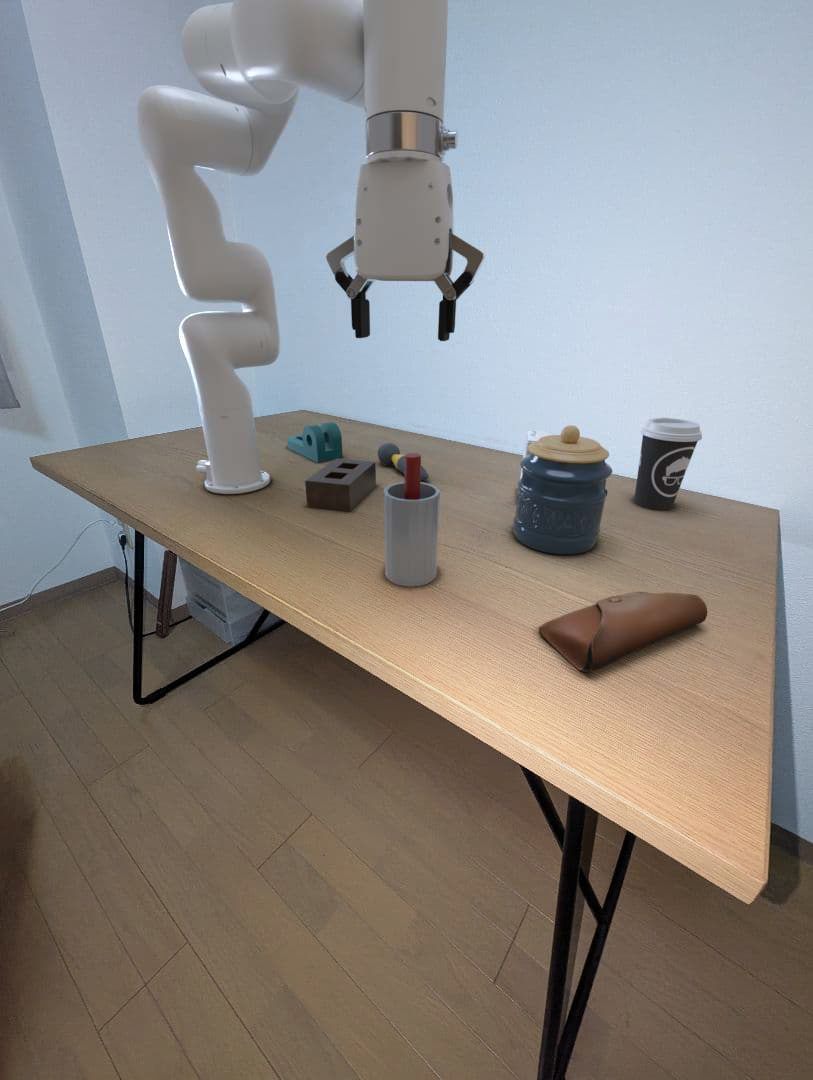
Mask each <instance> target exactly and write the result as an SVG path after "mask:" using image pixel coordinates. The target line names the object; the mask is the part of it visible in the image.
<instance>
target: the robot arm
mask: <svg viewBox="0 0 813 1080" xmlns="http://www.w3.org/2000/svg"><path fill="white" fill-rule="evenodd" d="M448 10H449V0H233V1H231V2H225V3H224V2H223V3H217V4H210V5H205V6H202V7H200V8H198V9H196V10H194V12H192V13H191V14H190V16H189V17H188V18H187V20H186V22H185V23H184V26H183V29H182V34H181V46H182V53H183V57H184V61H185V64H186V66H187V68H188V71H189V72H190V73H191V75H192V76H193V78H194V80H195V81H196V82H197V83H198V85H199V86H201V88H202V89H203V90H205V91H206V93H207V92H208V94H210V95H211V96H209V95H207V94H204V93H201V92H197V91H193V90H190V89H187V88H182V87H179V86H174V85H167V84H155V85H151V86H148V87H147V88H145V89H144V90H142V92H141V94H140V96H139V98H138V100H137V105H136V106H137V107H136V126H137V134H138V138H139V144H140V149H141V151H142V154H143V158H144V161H145V164H146V166H147V169H148V172H149V174H150V177H151V178H152V181H153V183H154V186H155V187H156V190H157V193H158V194H159V195H158V196H159V198H160V201H161V204H162V208H163V212H164V217H165V223H166V227H167V233H168V238H169V243H170V249H171V253H172V258H173V264H174V269H175V272H176V276H177V280H178V284H179V286H180V289H181V291H182V292H183V294H184V296H185V297H187V298H188V299H189V300H191V301H195V302H198V303H206V304H240V307H241V309H242V311H201V312H200V311H199V312H195V313H192V314H189V315H188V316H186V317H185V318H184V319H183V320H182V321H181V322H180V325H179V329H178V330H179V331H178V336H179V341H180V345H181V349H182V351H183V354H184V356H185V359H186V362H187V365H188V368H189V371H190V374H191V377H192V381H193V386H194V391H195V396H196V400H197V405H198V410H199V416H200V421H201V426H202V432H203V437H204V442H205V447H206V451H207V452H206V454H207V457H208V460H205V459H204V460H203V459H200V460H198V462H197V465H196V466H195V471H196V473H199V474H200V473H202V474H203V473H204V474H206V479H205V480H204V487H205V489H206V490H207V491H209V492H211V493H214V494H220V495H236V494H237V495H238V494H239V495H240V494H246V493H250V492H255V491H258V490H261V489H263V488H265V487H267V486H268V485H270V482H271V475H270V474H269V473H268V472H266V471H264V470H262V468H261V460H260V453H259V446H258V445H259V444H258V438H257V431H256V425H255V423H256V422H255V417H254V410H253V403H252V396H251V393H250V390H249V388H248V387H247V385H246V383H244V382H243V380H242V379H241V377H240V376H239V375H238V374H237V372H236V371H235V370H239V369H244V368H256V367H257V368H258V367H266V366H269V365H272V364H273V363H275V362H276V361H277V360H278V358H279V355H280V352H281V335H280V325H279V324H280V323H279V317H278V309H277V299H276V291H275V284H274V276H273V272H272V269H271V266H270V263H269V261H268V259H267V257H266V256H265V254H264V253H263V252H262V250H261V249H259V247H257V246H256V245H253V244H250V243H247V242H239V241H229V240H227V238H226V236H225V231H224V227H223V219H222V214H221V208H220V206H219V203H218V201H217V199H216V197H215V196H214V194H213V192H212V191H211V189H210V188H209V186H208V185H207V183H206V182H205V181H204V179H203V178H202V177H201V176H200V174H199V173H198V172H197V171H196V170H195V167H198V168H202V169H207V170H211V171H216V172H221V173H227V174H231V175H235V176H241V177H253V176H254V177H255V176H256V175H258V174H259V173H261V172H262V171H263V170H264V169H265V167H266V165H267V163H268V161H269V160H270V158H271V156H272V154H273V152H274V150H275V148H276V146H277V144H278V142H279V141H280V139H281V137H282V135H283V134H284V133H283V132H284V131H285V129H286V126H287V125H288V123H289V121H290V119H291V117H292V115H293V112H294V110H295V107H296V105H297V102H298V98H299V94H300V87H302V88H305V89H309V90H311V91H314V92H317V93H320V94H323V95H326V96H329V97H331V98H335V99H337V100H339V101H341V102H344V103H346V104H349V105H352V106H354V107H357V108H359V109H363V110H364V112H365V114H364V118H365V121H364V123H365V163H364V164H360V168H359V173H358V180H357V188H356V196H355V206H354V207H355V208H354V224H353V225H354V228H353V235H352V236H351V237H350V238H348V239H346V240H344V242H342V243H341V244H339V245H337V246H336V247H334V248H333V249H332V250H330V251H329V252H328V253H327V254H326V256H325V259H326V261H327V264H328V266H329V268H330V270H331V272H332V274H333V275H334V279H335V281H336V283H337V284H338V286H339V287H340V288H341V289H342V290H343V291H344V292H345V293H346V296H347V298H348V299H349V300H350V312H351V313H350V314H351V328H352V330H353V331H354V337H355V338H356V339H366V338H369V337H370V336H371V313H370V312H371V309H370V300H369V298H368V299H367V294H368V292H369V291H370V289H371V287H372V286H373V285H374V283H375V281H380V282H381V281H383V282H434V284H436V286H437V287H438V289H439V290H440V292H441V293H442V300H440V301H439V303H438V324H437V325H438V326H437V340H438V341H439V342H448V341H449V340H450V336H451V335H450V334H454V333H455V329H456V312H457V301H458V300H459V299H460V297H461V296H462V295H463V294H464V293H465V291H466V290H467V289H468V288H470V286H471V285H472V284H473V283H474V281H475V278H476V277H477V275H478V273H479V271H480V269H481V267H482V265H483V264H484V261H485V259H486V255H485V253H484V252H483V251H481V250H480V249H478V248H477V247H475V246H474V245H472V244H470V243H469V242H467V241H465V240H464V239H462V238H461V237H459V236H457V235H456V234H454V195H453V182H452V173H451V168H450V166H449V165H448V164H447V163H445V162H444V161H445V156H446V153H447V152H450V150H457V149H458V145H459V140H458V139H459V135H458V130H450V129H447V128H446V127H445V125H444V117H445V116H444V115H445V114H444V113H445V92H446V91H445V89H446V62H447V41H448V40H447V39H448V38H447V37H448V36H447V35H448V14H449V13H448V12H449V11H448ZM212 96H214V97H212ZM454 252H455V253H457V254H459V255H460V256H462V257H463V258H465V260H466V266H465V267H464V270H463V272H462V273H461V274H460V275H459V276H458V277H457V278H456V279H455V280H454V281H453V279H452V278H451V275H452V272H453V267H454ZM352 256H353V262H354V269H355V272H356V275H355V277H354V278H353V277H352V276H351V275H350V274H349V273H348V270H347V269H346V265H345V262H346V260H348V259H349V258H350V257H352Z"/></svg>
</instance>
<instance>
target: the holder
mask: <svg viewBox="0 0 813 1080" xmlns="http://www.w3.org/2000/svg"><path fill="white" fill-rule="evenodd" d="M376 470H377V467H376V461H374V460H362V459H361V460H360V459H350V458H336V459H334V460H331V461H330V462H329V463H327V464H326V465H325V466H323V467H321V468H320V469H319V470H317V471H316V472H314V474H312V475H311V476H309V477H308V478H307V479H305V480H304V486H305V496H306V506H307V507H308V508H309V507H310V508H315V509H316V508H317V509H324V510H325V509H326V510H333V511H334V510H335V511H341V512H351V511H353V509H354V508H356V507H357V506H358V505H359V503H360V502H362V501H363V499H365V498H366V496H367V495H368V494H369V493H370V492H371V491H372V490H373V489H374V488H375V487H376V486H377V471H376Z"/></svg>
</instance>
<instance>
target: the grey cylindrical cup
mask: <svg viewBox="0 0 813 1080" xmlns="http://www.w3.org/2000/svg"><path fill="white" fill-rule="evenodd" d="M404 484H405V481H399V482H395V483H391V484H389V485H388V486H386V487H385V488H384V489H383V517H384V518H383V519H384V521H383V522H384V525H383V526H384V527H383V528H384V574H385V577H386V579H387V580H388V581H390V582H391V583H393V584H395V585H398V586H401V587H410V588H411V587H421V586H424V585H425V586H426V585H428V584H430V583H431V582H433V581H434V580H435V579H436V578H437V571H438V549H439V529H440V527H439V526H440V498H441V491H440V488H438V487H437V486H436V485H433V484H431V483H428V482H422V481H421V486H420V499H418V500H407V499H404Z"/></svg>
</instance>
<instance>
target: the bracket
mask: <svg viewBox="0 0 813 1080" xmlns="http://www.w3.org/2000/svg"><path fill="white" fill-rule="evenodd" d="M301 433H302V434H298V435H297V434H296V435H292V436H288V437H286V442H287V448H288V450H290V451H292V452H295V453H297V454H299V455H301V456H303V457H305V458H308V459H309V460H312V461H314V462H316V463H319V464H320V463H323V462H324V463H325V462H329V461H333V460H335V459H336V458H340V459H344V455H343V438H342V433H341V430H340V427H339V425H338V424H337V423H336V422H334V421H329V422H324V423H321V424H320V426H319V425H318V424H309V425H305V426H304V427H303V429H302V432H301Z"/></svg>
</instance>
